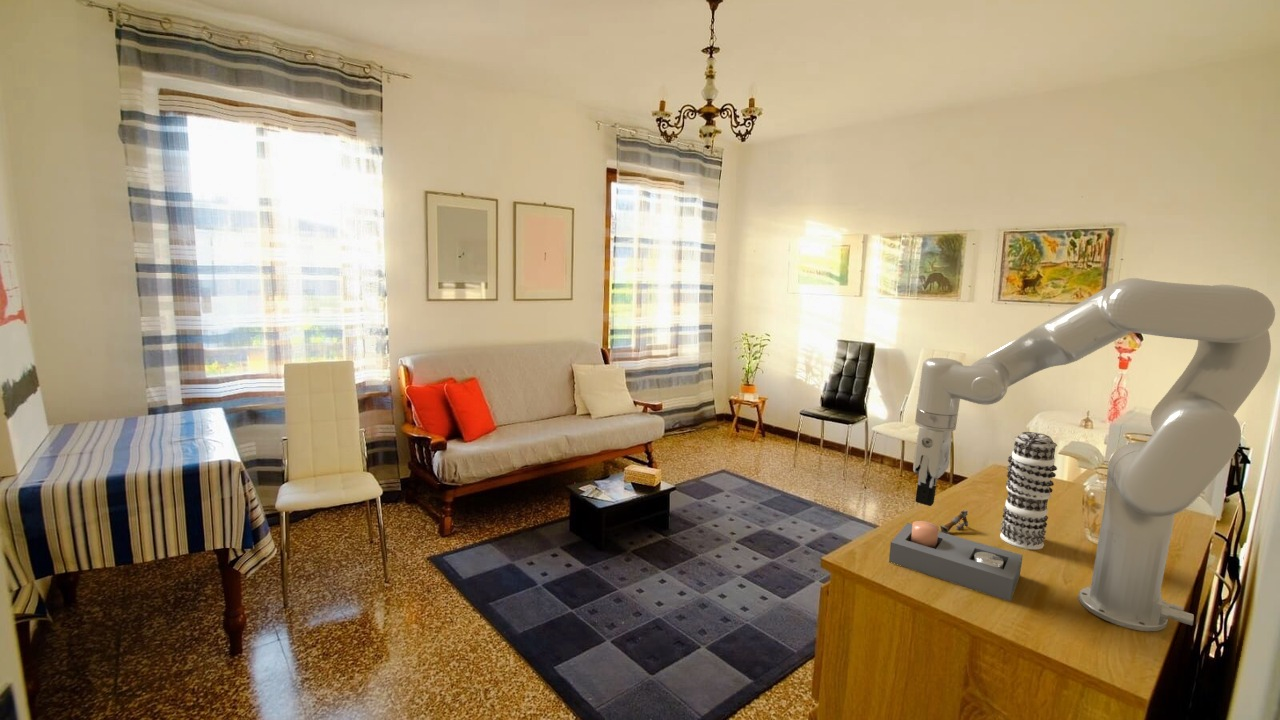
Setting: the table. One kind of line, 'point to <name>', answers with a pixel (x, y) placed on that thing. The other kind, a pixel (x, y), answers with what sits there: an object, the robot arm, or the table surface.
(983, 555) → the cream short cylinder
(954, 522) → the wooden post with brackets
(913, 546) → the button housing
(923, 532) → the terracotta plunger
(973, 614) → the table surface
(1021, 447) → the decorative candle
